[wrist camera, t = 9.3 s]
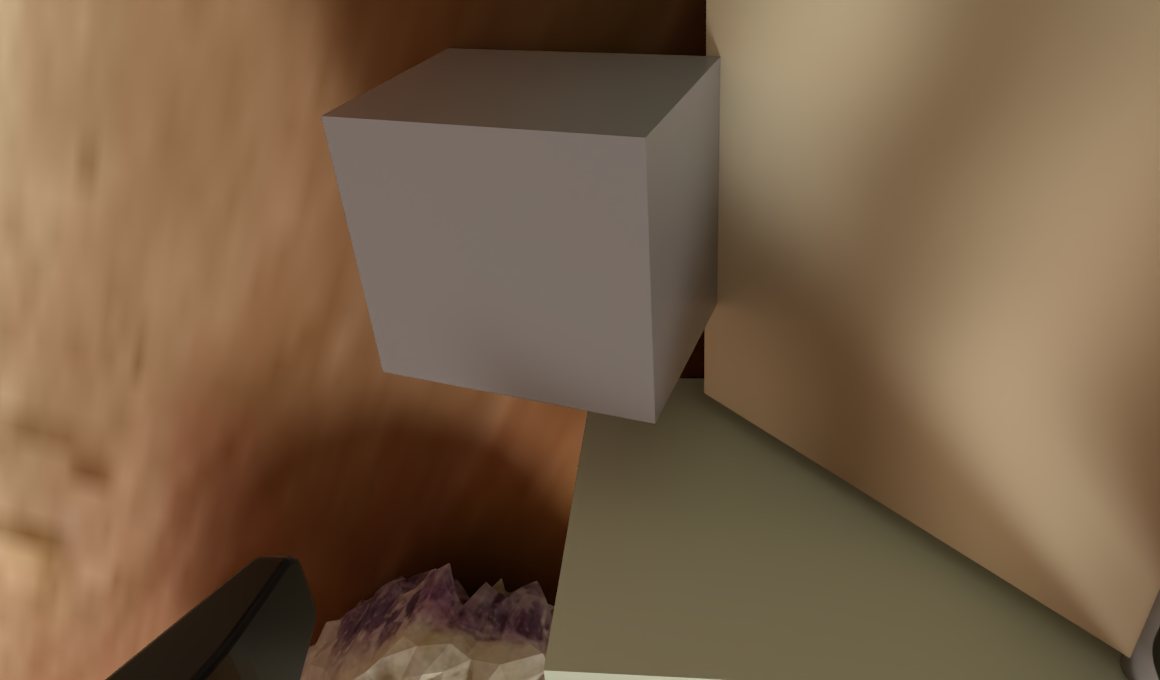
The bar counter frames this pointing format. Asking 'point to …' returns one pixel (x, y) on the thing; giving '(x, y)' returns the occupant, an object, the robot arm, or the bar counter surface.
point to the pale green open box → (774, 571)
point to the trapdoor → (956, 275)
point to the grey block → (537, 221)
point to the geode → (436, 633)
